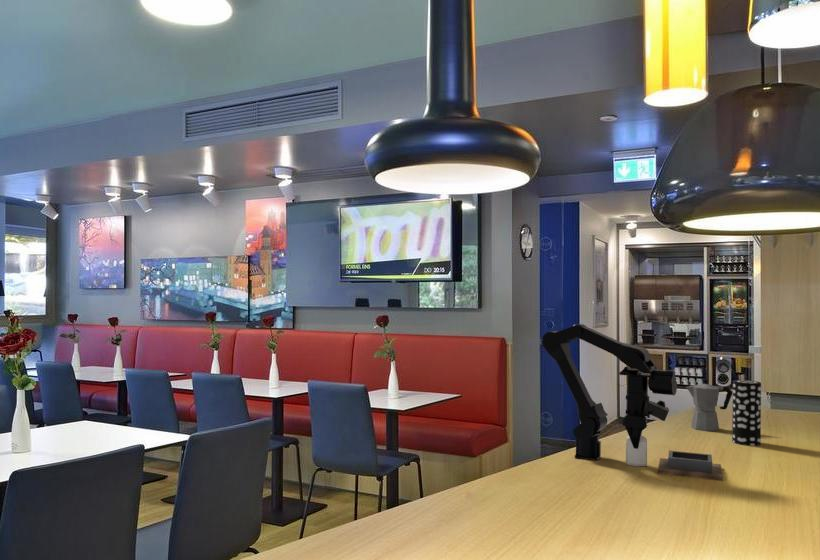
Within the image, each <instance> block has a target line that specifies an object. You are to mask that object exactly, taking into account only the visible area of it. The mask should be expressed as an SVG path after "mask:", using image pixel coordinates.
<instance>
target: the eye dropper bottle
mask: <svg viewBox="0 0 820 560" xmlns="http://www.w3.org/2000/svg"><path fill="white" fill-rule="evenodd" d="M625 443H626V444H625V463H626V465H628V466H632V467H647V466H648V438H646V437H645V436H643V435H641V437H640V441H639V446H638V449H635V448H634V447H633V445H632V442H631V440H630V437H629V435H628V436H627V437H626V440H625Z"/></svg>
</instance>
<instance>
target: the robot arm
mask: <svg viewBox="0 0 820 560" xmlns="http://www.w3.org/2000/svg"><path fill="white" fill-rule="evenodd" d="M578 339H580V340H581V341H584V342H586V343H588V344H590V345H592V346H594V347H596V348H599V349H601V350H602V351H605V352H607V353H610V354H611V355H613V356H614V357H616V358H617V359H618V360H619V361H620V362H622V363H623V364H625V367H624V368H622V370H621V371H620V372H619V376H626V395H625V400H626V404H625V405H626V406H625V407H626V409H625V415H624V416H623V417H622V427H624V428H625V430H626V433H627V434H628V436H629V437H630V440H631V442H632V445H633V447H634V448H635V449H638V446H639V441H640V437H641V436H642V433H643V430H645V429H647V427H648V423H649V422H650V420H649V419H650V418H651V416H653V417H654V418H658V419H659V420H660V421H662V422H665V421H666V419H667V417H668V414H669V411H670V408H669V407H666V403H665V401H663V400H661V399H659V400H658V401H657V402H655V401H652V400H650V396H649V393H648V391H651V392H652V394H655V395H656V394H657V395H666V396H667V395H668V396H675V395H676V394H677V390H678V381H677V377H676V374H675V373H676V371H675V370H673V369H670V370H665V369H658V367H657V366H656V365H655V363H654V362H653V361H652V359H651V355H650V352H649V350H648V349H647V348H645V347H642V346H639V345H634V344H630V343H626V342H625V343H624V342H622V341H619V340H617V339H614V338H612V337H610V336H608V335H606V334H604V333H601V332H599V331H597V330H594V329H592V328H590V327H588V326H587V325H585V324H584V323H579V324H573V325H572V326H570V327H567V328H565V329H562V330H554V331H547V332H546V333H544V334H543V335H542V339H541V344H542V347H543V349H544V351H546V353H547V354H548V355H549V356H550V358H551V359H553V360H554V361H555V362H556V365H557V366H558V368H559V370H560V372H561V375H562V377H563V379H564V380H565V382H566V384H567V386H568V389H569V391H570V392H571V393H570V394H571V395H572V397H573V399H574V401H575V403H576V405H577V412H578V413H577V414H578V418H579V422H580V423H579V424H578V425H577V426H576V427H575V428H574V429H572V432H573V435H574V437H575V455H574V458H575V459H586V460H592V461H593V460H595V461H598V459H599V458H600V457H601V455H602V441H601V440H600V434H601V432H602V430H604V429H605V428H606V427H607V424H608V418H607V416H608V413H607V412H606V411H605V409H604V406H603V403H602V402H599V403H596V402H595V401H594V400H593V399H592V397H591V395H590V392H589V391H588V388H587V387H586V384H585V382H584V381H583V378H582V377H581V375H580V373H579V371H578V368H577V367H576V364H575V362H574V360H573V358H572V356H571V346H570V343H571V342H575V341H576V340H578Z"/></svg>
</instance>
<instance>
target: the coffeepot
mask: <svg viewBox="0 0 820 560" xmlns="http://www.w3.org/2000/svg"><path fill="white" fill-rule="evenodd" d="M702 381H703V383H700V384H695V385H687V386H685V389H686V390H688V392H689V394H690V395H691V397H692V399H693V400H692V401H693V405H694V407H695V409H694V411H693V415H692V421H691V426H690V428H691V429H694V430H697V431H700V432H701V431H704V432H716V431H719V430H720V426H719V425H720V424H719V420H718V415H717V411H716V407H717V406H718V401H719V394H720V393H723V392H726V394H725V400H724V402H723V406H719V409H720V410H727V408H728V406H729V404H730V401H731V398H732V397H733V390H731V388H730V387H728V386H720V385H718V386H715V385H711V384H709V383H708V382H709V379H707V378H703V379H702Z"/></svg>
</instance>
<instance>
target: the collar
mask: <svg viewBox="0 0 820 560" xmlns="http://www.w3.org/2000/svg"><path fill="white" fill-rule="evenodd" d="M667 459H668V469H676V470H685V471H694V472H704V473H712V464H713V456H712V454H709V453H700V452H697V453H696V452H688V451H687V452H686V451H679V450H668V455H667Z"/></svg>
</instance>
